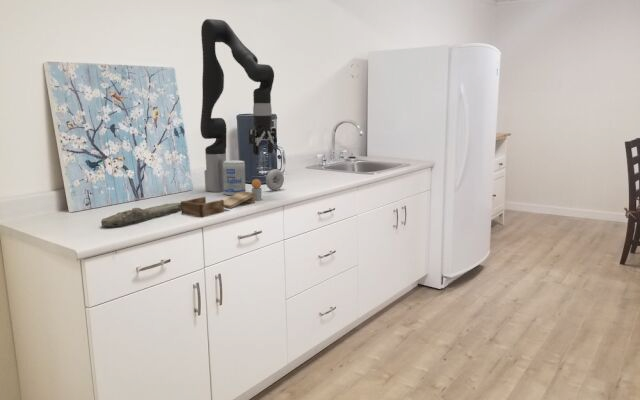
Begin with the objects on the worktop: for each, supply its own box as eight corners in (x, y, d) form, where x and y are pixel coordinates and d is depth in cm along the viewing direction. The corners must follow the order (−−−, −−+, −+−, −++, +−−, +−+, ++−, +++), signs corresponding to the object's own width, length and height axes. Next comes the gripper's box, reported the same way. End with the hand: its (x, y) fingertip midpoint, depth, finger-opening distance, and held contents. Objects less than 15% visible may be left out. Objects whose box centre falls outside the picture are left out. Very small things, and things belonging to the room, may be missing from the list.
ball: (250, 189, 213) (249, 179, 213) (254, 187, 217) (253, 178, 216) (259, 189, 212) (258, 180, 211) (262, 188, 216) (262, 178, 215)
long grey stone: (191, 214, 197) (172, 212, 202) (190, 200, 197) (171, 199, 202) (114, 229, 167) (94, 227, 172) (113, 213, 167) (93, 211, 172)
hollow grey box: (256, 198, 218) (256, 187, 217) (261, 199, 216) (261, 187, 215) (252, 199, 215) (251, 188, 214) (257, 200, 214) (256, 188, 213)
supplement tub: (227, 196, 223) (225, 163, 220) (221, 193, 231) (220, 160, 228) (248, 195, 227) (247, 161, 224) (242, 191, 235) (241, 159, 232)
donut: (269, 192, 232) (268, 170, 230) (264, 191, 235) (263, 169, 233) (285, 189, 239) (285, 168, 237) (280, 188, 242) (280, 167, 240)
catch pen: (204, 208, 200) (203, 196, 199) (223, 211, 193) (223, 200, 193) (181, 213, 191) (180, 201, 190) (201, 217, 185) (200, 204, 184)
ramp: (242, 200, 214) (242, 191, 213) (254, 202, 210) (254, 192, 209) (217, 206, 203) (217, 196, 202) (230, 208, 199) (229, 198, 198)
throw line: (210, 206, 202) (210, 206, 202) (229, 210, 196) (229, 209, 196) (206, 207, 201) (206, 207, 201) (226, 211, 194) (226, 210, 194)
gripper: (257, 115, 203) (258, 156, 206) (280, 114, 214) (281, 152, 217) (243, 114, 207) (244, 154, 210) (267, 113, 218) (268, 151, 222)
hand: (263, 153), depth 214 cm, fingers open, 8 cm apart
